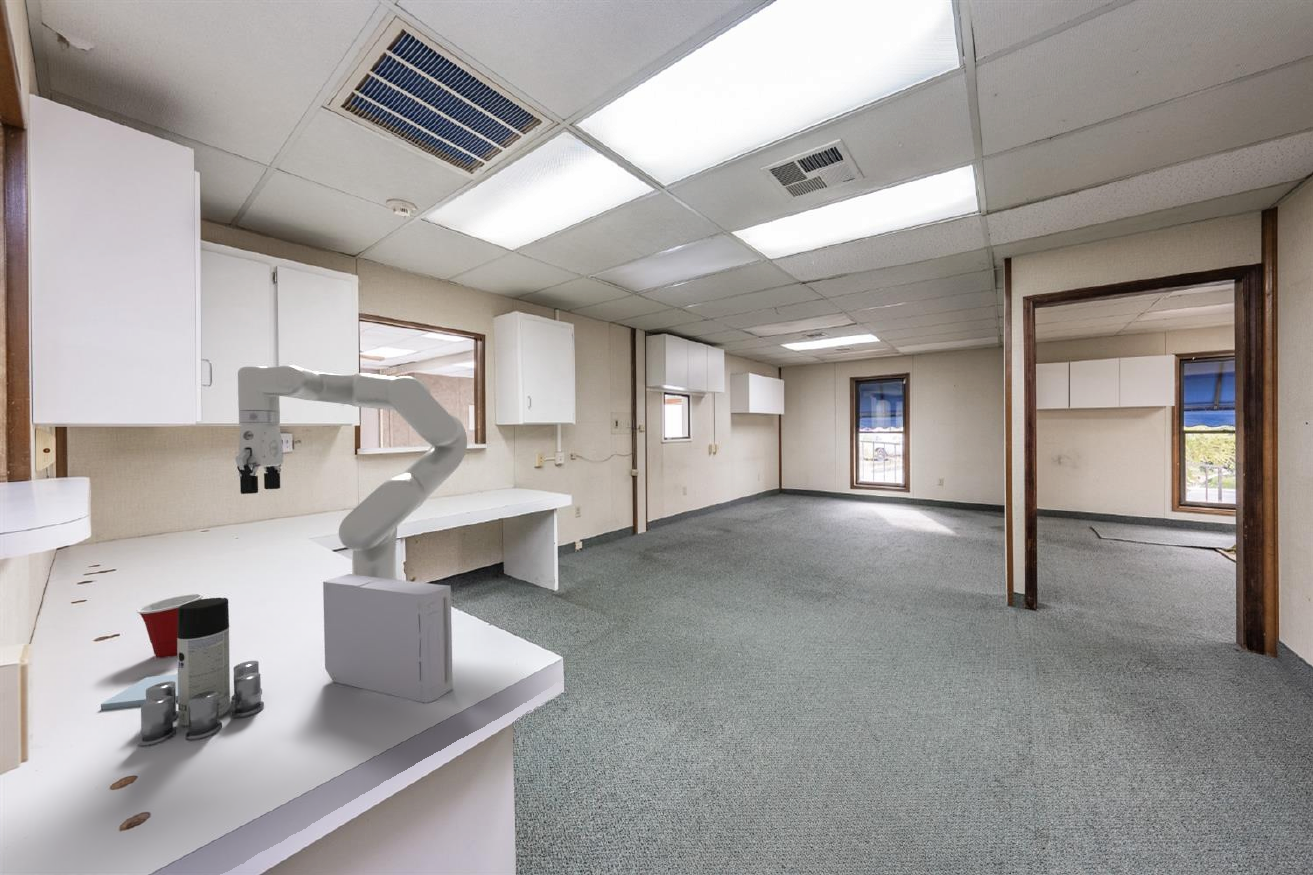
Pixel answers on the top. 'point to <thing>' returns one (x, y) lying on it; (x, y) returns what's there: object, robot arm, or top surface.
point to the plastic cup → (164, 623)
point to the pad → (138, 692)
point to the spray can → (203, 653)
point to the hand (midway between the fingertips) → (261, 491)
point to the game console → (389, 636)
